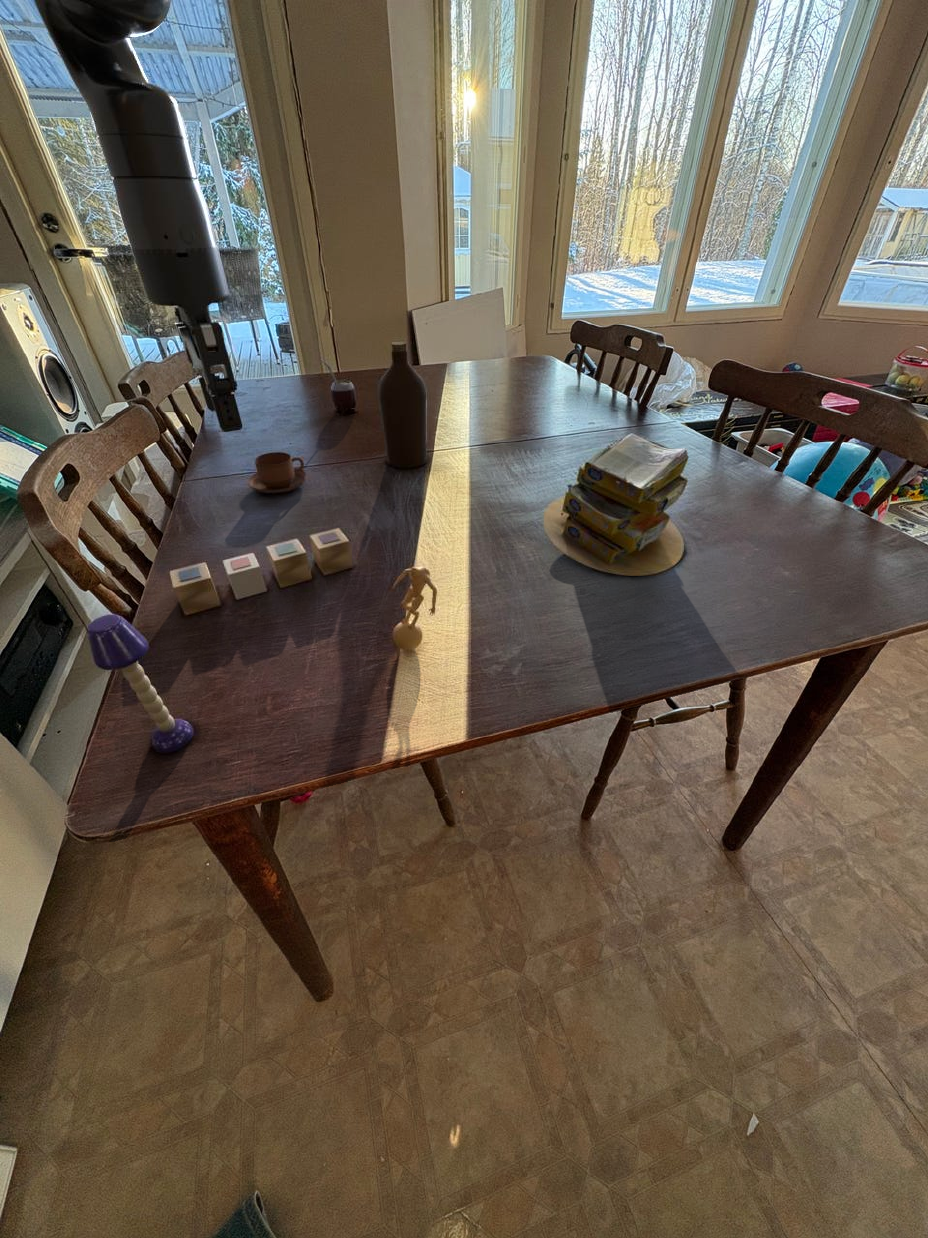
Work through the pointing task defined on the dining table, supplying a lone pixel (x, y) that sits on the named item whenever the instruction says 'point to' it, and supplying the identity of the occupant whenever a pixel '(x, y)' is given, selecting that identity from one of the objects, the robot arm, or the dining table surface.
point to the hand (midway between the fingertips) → (225, 419)
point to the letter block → (245, 575)
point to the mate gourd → (342, 394)
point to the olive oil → (403, 411)
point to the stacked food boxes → (622, 509)
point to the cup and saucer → (277, 473)
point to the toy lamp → (136, 676)
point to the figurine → (413, 608)
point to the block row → (286, 565)
